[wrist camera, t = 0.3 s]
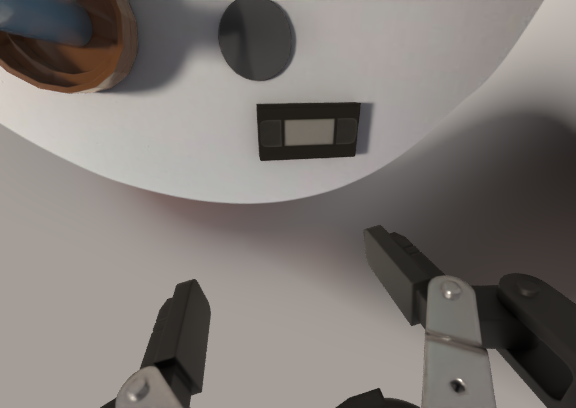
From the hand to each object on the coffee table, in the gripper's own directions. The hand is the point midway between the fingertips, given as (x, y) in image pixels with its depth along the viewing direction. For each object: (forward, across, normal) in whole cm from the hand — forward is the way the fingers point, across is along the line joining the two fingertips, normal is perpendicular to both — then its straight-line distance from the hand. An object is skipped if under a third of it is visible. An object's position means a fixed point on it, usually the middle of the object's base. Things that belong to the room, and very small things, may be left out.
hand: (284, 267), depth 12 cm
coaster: (+29, -4, -12) cm, 31 cm away
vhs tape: (+28, -8, +1) cm, 29 cm away
